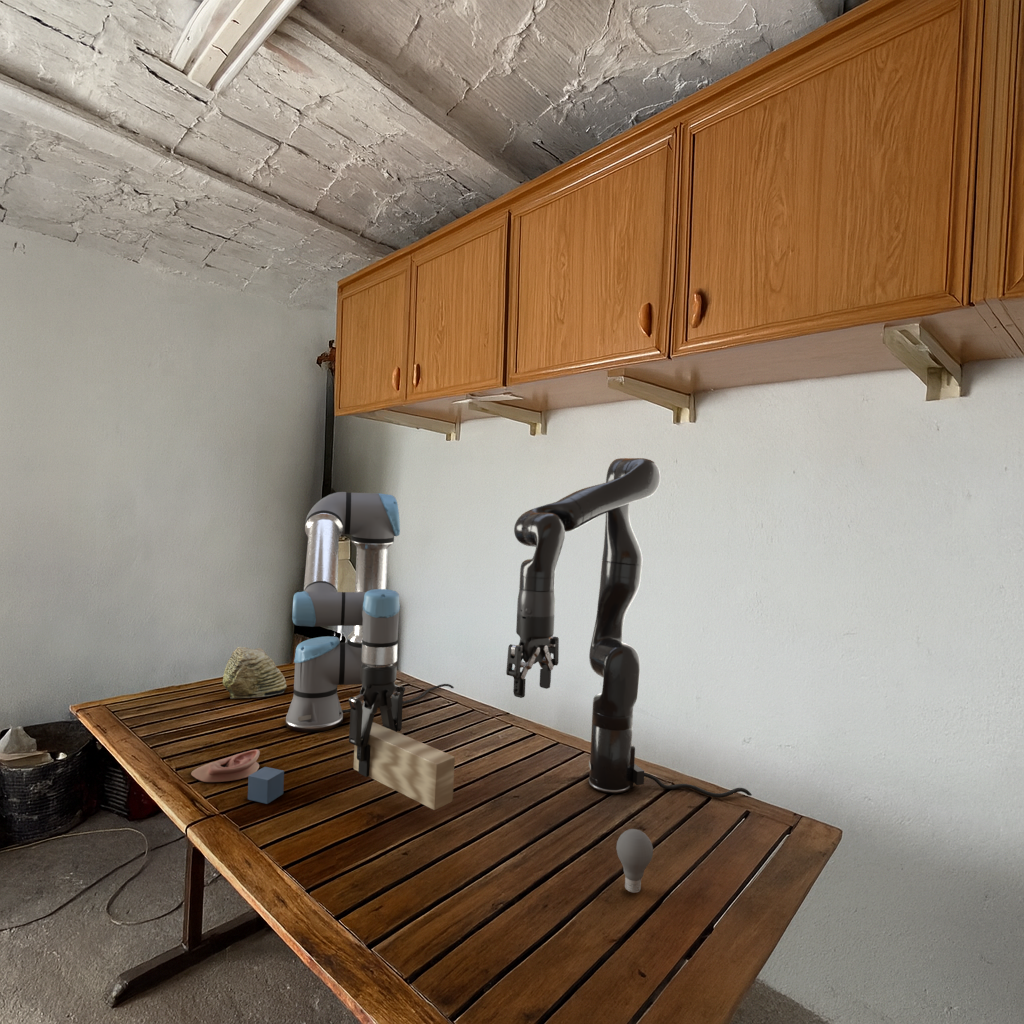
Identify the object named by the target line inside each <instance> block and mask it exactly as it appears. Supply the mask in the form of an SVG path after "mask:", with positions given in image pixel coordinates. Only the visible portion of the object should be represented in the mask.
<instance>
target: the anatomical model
mask: <svg viewBox="0 0 1024 1024" xmlns="http://www.w3.org/2000/svg"><path fill="white" fill-rule="evenodd" d="M260 754H261V752H260V749H257V748H256V749H251V750H247V751H243V752H240V753H236V754H234V755H231V756H228V757H225V758H222V759H219V760H216V761H211V762H209V763H206V764H204V765H201V766H198V767H197V768H195V769H193V770H192V771H191V773H190V775H191V776H192V777H193V778H194V779H196V780H198V781H201V782H203V783H221V782H230V781H231V782H233V781H237V780H241V779H246V778H248V777H249V775H251V774H253V773H254V772H256V771H258V770H260V769H259V768H260V764H259V762H258V759H259V757H260Z"/></svg>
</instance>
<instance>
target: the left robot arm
mask: <svg viewBox="0 0 1024 1024" xmlns="http://www.w3.org/2000/svg"><path fill="white" fill-rule="evenodd" d="M304 533H305V534H306V536H307V549H306V559H305V560H306V561H305V571H304V583H303V591H297V592H294V594H293V599H292V615H291V616H292V617H291V618H292V623H293V625H295V626H297V627H298V626H299V627H311V628H314V627H340V626H343V627H351V626H352V627H353V629H352V631H351V632H350V633H349V634H348V635H347V638H346V639H347V641H346V642H345V641H344V642H341V640H340V638H339V637H337V636H330V635H327V636H318V637H313V638H308V639H306V640H303V641H302V642H299V643H298V644H297V645H296V648H295V655H294V660H293V663H294V674H293V675H294V680H293V695H292V696H293V697H292V699H291V702H290V704H289V708H288V711H287V713H286V715H285V726H286V728H287V729H289V730H291V731H294V732H295V731H296V732H301V733H316V732H325V731H329V730H332V729H335V728H337V727H339V726H340V725H342V723H343V722H344V713H349V728H348V742H349V743H350V744H351V745H353V746H354V745H356V746H357V760H359V769H358V771H357V772H358V774H360V775H362V776H364V777H366V778H369V777H368V776H369V770H370V747H371V745H368V740H369V735H370V731H371V727H372V723H373V722H374V718H375V715H376V714H377V712H378V708H379V713H380V717H381V724H382V726H384V727H386V728H388V729H391V730H393V731H395V732H401V731H402V729H403V705H404V704H409V703H412V702H415V701H417V700H420V699H422V698H423V697H425V696H426V694H427V693H429V692H431V691H433V690H436V689H439V688H442V687H448V688H450V689H454V688H455V687H454V686H453V685H452V684H450V683H441V684H439V685H436V686H433V687H430V688H427V689H426V690H425V691H424V692H423V693H422V694H420V695H417V696H416V697H413V698H411V699H407V700H404V695H405V691H406V687H405V686H403V685H400V684H398V683H395V682H396V680H397V673H398V672H397V671H398V670H397V669H398V665H397V662H398V649H399V648H398V647H399V646H398V645H399V641H398V640H399V637H398V635H399V623H400V622H399V620H400V611H401V606H400V594H399V592H397V591H396V590H393V589H388V588H387V582H388V558H389V548H390V547H391V546H392V545H393V544H394V543H395V537H399V536H400V534H401V522H400V512H399V504H398V501H397V498H396V497H395V496H394V495H392V494H388V493H381V492H378V493H377V492H346V491H338V492H333V493H330V494H328V495H326V496H324V497H322V498H321V499H320V500H318V501H317V502H316V503H315V504H314V505H313V506H312V508H311V509H310V510H309V512H308V514H307V516H306V518H305V522H304ZM342 535H351V543H352V544H354V546H355V547H356V556H355V558H356V560H355V561H356V562H355V583H354V591H338V589H339V587H338V586H339V545H340V544H339V541H340V538H341V536H342ZM350 685H361V688H360V690H359V694H357V695H356V696H350V697H349V698H348V704H349V709H342V706H341V702H340V699H339V695H338V686H350Z"/></svg>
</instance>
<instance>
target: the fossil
mask: <svg viewBox="0 0 1024 1024" xmlns="http://www.w3.org/2000/svg"><path fill="white" fill-rule="evenodd" d="M222 676H223V677H222V685H223V687H224V688H225V690H226V691H228V693H229V698H230V699H250V698H264V697H271V696H275V695H281V694H284V693H285V691H286V689H287V687H288V686H287V680H286V678H285V676H284V674H283V673H282V672H281V669H279V668H278V667H277V665H276V663H275V662H274V660H273V659H272V658H271V657H270V656H269V655H268V654H267V653H266V652H265V650H264V649H263V648H260V647H258V648H251V647H247V646H246V647H245V646H238V647H237V648H236V649H235V650H233V651H232V653H231V656H230V657H229V659H228V660H227V663H226V666H225V668H224V671H223V675H222Z"/></svg>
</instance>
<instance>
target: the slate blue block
mask: <svg viewBox="0 0 1024 1024" xmlns="http://www.w3.org/2000/svg"><path fill="white" fill-rule="evenodd" d="M247 778H248V780H247V800H249V801H252V802H257V803H260V804H265V805H268V804H270V803H271V802H273V801H275V800H276V799H277V798H279V797H281V796H282V795H284V789H285V788H284V785H285V784H284V783H285V782H284V781H285V770H283V769H278V768H273V767H268V766H264V767H262V768H260V769H258V770H257V771H256V772H254V773H253V774H251V775H249V776H248V777H247Z"/></svg>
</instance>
